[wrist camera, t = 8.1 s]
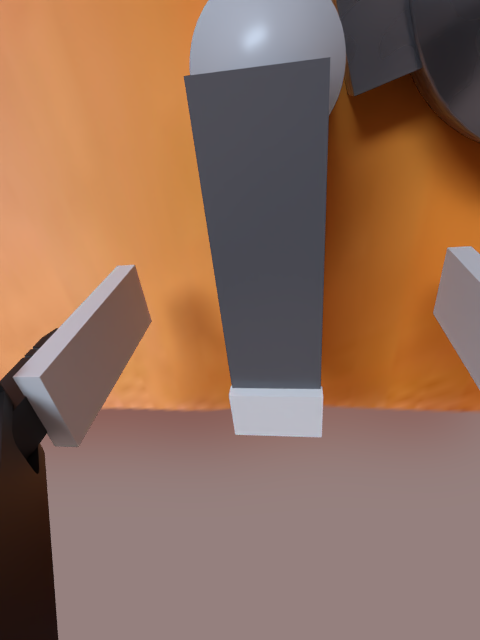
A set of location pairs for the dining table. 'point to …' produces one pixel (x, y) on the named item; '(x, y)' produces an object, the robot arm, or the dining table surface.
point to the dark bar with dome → (267, 195)
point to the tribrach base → (417, 52)
